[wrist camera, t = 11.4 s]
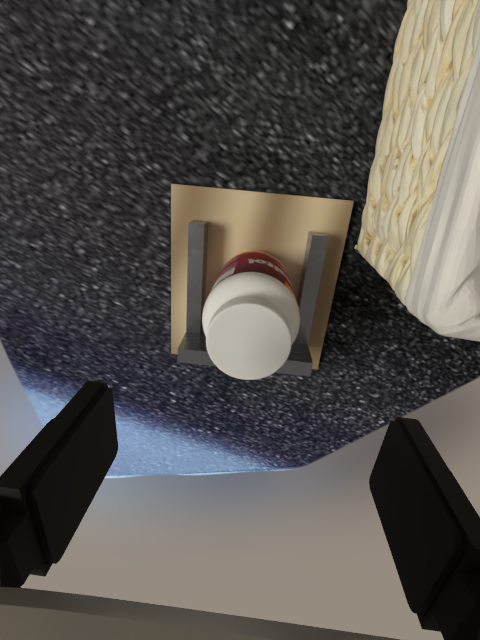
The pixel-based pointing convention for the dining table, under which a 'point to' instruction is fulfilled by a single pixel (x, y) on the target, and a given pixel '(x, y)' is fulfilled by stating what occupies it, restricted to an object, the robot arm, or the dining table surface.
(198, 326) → the gunmetal guide rail
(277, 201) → the maple board
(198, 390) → the dining table surface
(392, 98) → the storage basket
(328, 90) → the dining table surface
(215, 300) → the pill bottle
